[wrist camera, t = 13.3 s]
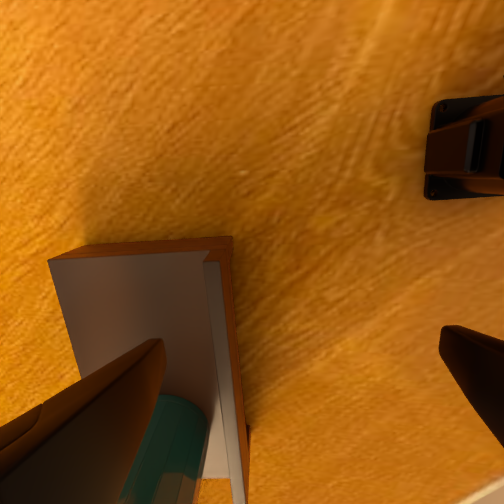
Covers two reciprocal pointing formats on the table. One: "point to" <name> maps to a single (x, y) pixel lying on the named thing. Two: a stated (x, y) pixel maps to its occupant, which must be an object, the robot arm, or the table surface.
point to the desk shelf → (165, 329)
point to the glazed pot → (169, 455)
